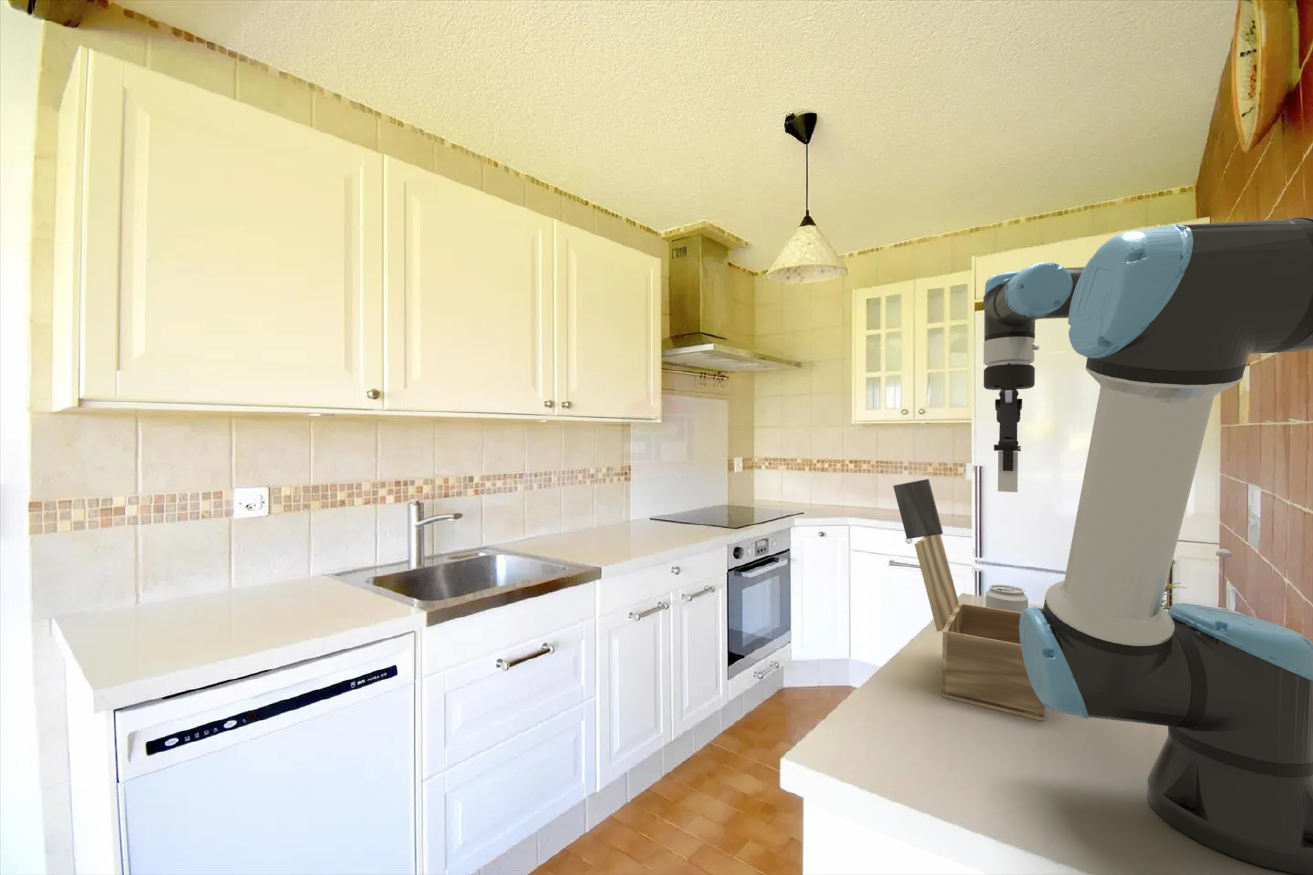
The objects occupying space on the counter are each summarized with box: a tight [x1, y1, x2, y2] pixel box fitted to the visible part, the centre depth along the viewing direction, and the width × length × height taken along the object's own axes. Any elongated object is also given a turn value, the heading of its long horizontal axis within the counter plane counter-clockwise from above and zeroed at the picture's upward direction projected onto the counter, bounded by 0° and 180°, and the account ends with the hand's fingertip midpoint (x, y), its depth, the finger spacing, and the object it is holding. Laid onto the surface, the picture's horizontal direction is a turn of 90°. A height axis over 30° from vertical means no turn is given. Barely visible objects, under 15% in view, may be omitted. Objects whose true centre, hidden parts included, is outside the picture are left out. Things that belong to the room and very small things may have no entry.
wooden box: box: [941, 602, 1046, 722], centre depth 101 cm, size 20×14×11 cm
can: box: [985, 584, 1029, 613], centre depth 120 cm, size 8×8×12 cm
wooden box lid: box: [892, 478, 960, 632], centre depth 107 cm, size 20×24×6 cm
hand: (1007, 489), depth 100 cm, fingers open, 13 cm apart
